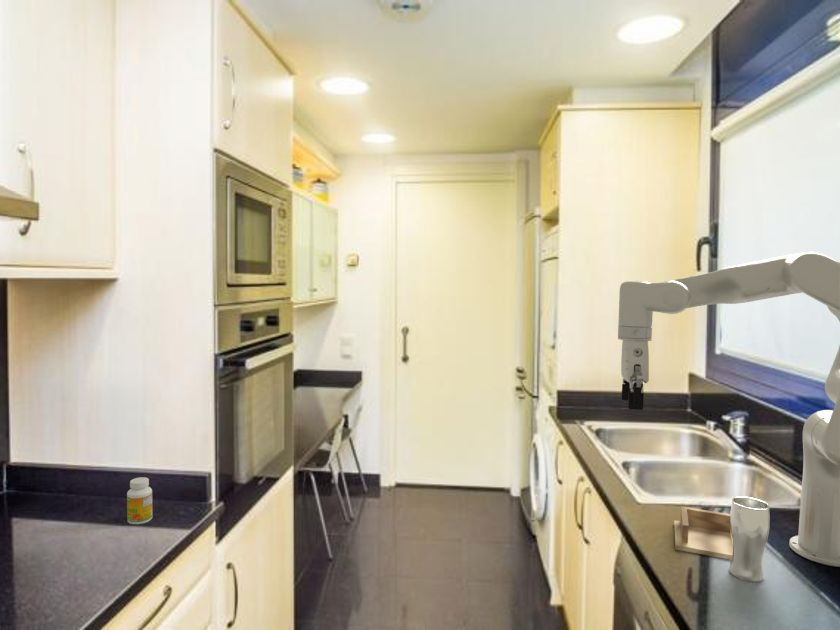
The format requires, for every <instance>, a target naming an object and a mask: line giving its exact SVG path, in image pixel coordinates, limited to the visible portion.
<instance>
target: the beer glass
mask: <svg viewBox="0 0 840 630" xmlns="http://www.w3.org/2000/svg"><path fill="white" fill-rule="evenodd" d="M730 505H731V506H730V511H729V514H730V536H731V543H732V559H731V560H730V563H729V567H728V571H729V573H730V574H731V575H732V576H733V577H735V578H737V579H739V580H741V581H744V582H749V583H760V582H762V581H763V580H764V571H763V556H764V552H765V549H766V546H767V542H768V538H769V536H770V535H769V533H770V522H771V521H770V520H771V519H770V505H769V504H768V503H767V502H766V501H764V500H762V499H758V498H754V497H749V496H734V497H733V498H732V499H731V504H730Z"/></svg>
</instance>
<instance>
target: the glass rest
mask: <svg viewBox="0 0 840 630" xmlns="http://www.w3.org/2000/svg"><path fill="white" fill-rule="evenodd" d="M680 507H681V508H680V519H679V520H676V519H674V521H673V530H674V547H675V548H674V549H675V550H677V551H682V552H687V553H693V554H698V555H699V554H700V555H703V556H709V557H715V558H720V559H725V560H730V561H731V559H732V543H731V536H730V513H726V512H719V511H713V510H706V509H701V508H693V507H689V506H688V507H687V506H683V505H682V506H680Z"/></svg>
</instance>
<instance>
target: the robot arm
mask: <svg viewBox="0 0 840 630" xmlns="http://www.w3.org/2000/svg"><path fill="white" fill-rule="evenodd" d="M801 293H803V294H804V295H807V296H809V297H810V298H812V299H814V300H816V301H817V302H820V303H821V304H823V305H825V306H826V307H827V308H828V310H829V311H830V312H831V313H832V314H833V315H834V316H835V317H836V318H837V319H838V321H839V323H840V262H839V261H837V260H836V259H833V258H832V257H829V256H827V255H826V254H822V253H818V252H816V251H815V252H814V251H809V252H801V253H800V252H799V253H794V254H788V255H783V256H778V257H777V256H776V257H772V258H767V259H763V260H758V261H753V262H748V263H743V264H738V265H733V266H728V267H723V268H721V269H717V270H714V271H710V272H707V273H701V274H697V275H691V276H686V277H681V278H675V279H670V280H665V281H662V282H661V281H660V282H649V281H639V280H638V281H637V280H634V281H624V282H622V283H621V284H620V286H619V297H618V298H619V302H618V323H617V324H618V325H617V327H618V328H617V339H618V340H620V341H622V342H621V344H622V345H621V359H620V360H621V363H620V365H621V366H620V372H621V377H622V384H621V400H622V401H628V403H627V407H628V409H629V410H634V411H635V410H637V411H638V410H639V411H641V410H643V409H644V398H645V397H644V396H645V395H644V394H645V393H644V392H645V391H644V384H648V383H649V380H650V373H649V372H650V355H649V353H650V351H649V342H651V341H652V339H653V338H652V336H653V314H654V313H653V312H656V313H661V314H668V315H676V314H679V313H681V312H683V311H685V310H686V309H691V308H697V307H702V306H709V305H717V304H719V305H720V304H722V305H723V304H724V305H726V304H727V305H729V304H730V305H734V304H744V303H750V302H756V301H763V300H766V299H773V298H778V297H783V296H789V295H795V294H801ZM824 392H825V393H826V396H827V397H828V399H829V400H830V401H832V403H833V404H834V407H833V409H823V410H817V411H816V412H814V413H812V414H810V415H809V417H808V418H807V419H806V421H805V422H804V424H803V426H802V427H803V428H802V449H803V450H802V451H803V453H802V454H803V461H802V462H803V465H802V467H803V468H802V481H801V490H800V491H801V492H800V506H799V520H798V521H799V522H798V532H797V533H798V534H797V535H795V536H792V537H791V538H790V539H789V542H788V543H789V548H791V550H792V551H794V553H796V554H797V555H799V556H801V557H803V558H805V559H807V560H810V561H812V562H816V563H819V564H821V565H826V566H830V567H837V568H840V345H839V346H838V350H837V352H836V355H835V358H834V360H833V363H832V365H831V368H830V371H829V373H828V375H827V378H826V380H825V383H824Z"/></svg>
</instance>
